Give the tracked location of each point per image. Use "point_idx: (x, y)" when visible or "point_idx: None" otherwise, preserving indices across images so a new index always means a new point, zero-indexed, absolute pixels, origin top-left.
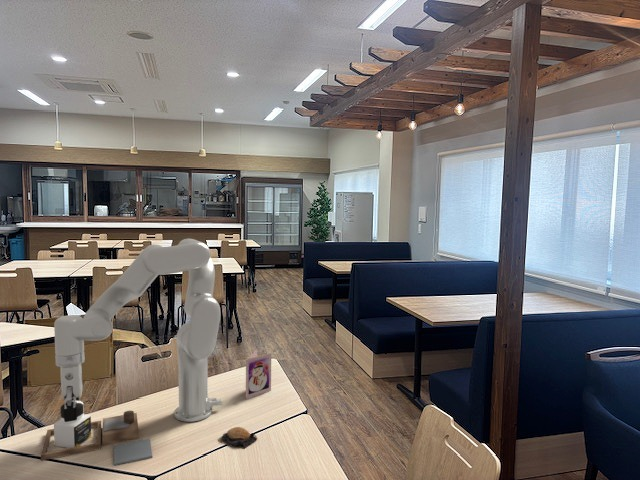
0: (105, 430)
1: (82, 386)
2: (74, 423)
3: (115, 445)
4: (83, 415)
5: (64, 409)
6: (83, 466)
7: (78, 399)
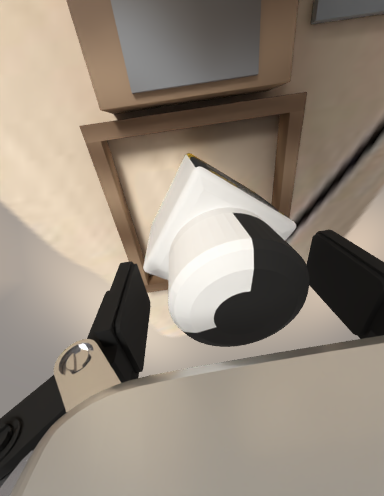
0: (256, 65)
1: (110, 401)
2: (276, 231)
3: (321, 7)
4: (199, 208)
5: (374, 334)
6: (375, 143)
7: (122, 288)
